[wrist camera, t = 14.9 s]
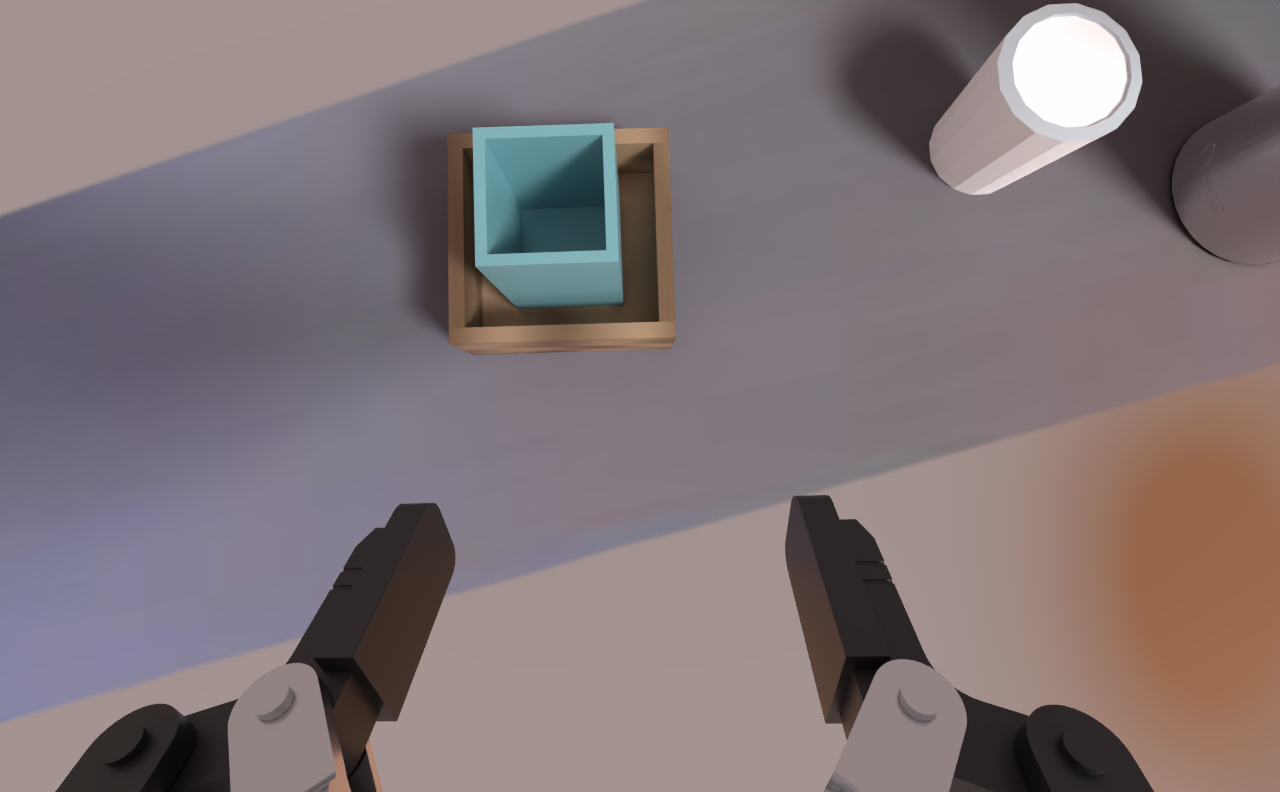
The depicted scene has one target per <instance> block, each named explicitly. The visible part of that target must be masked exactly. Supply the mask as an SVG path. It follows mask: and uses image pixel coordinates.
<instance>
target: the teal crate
mask: <svg viewBox="0 0 1280 792" xmlns="http://www.w3.org/2000/svg"><path fill="white" fill-rule="evenodd" d="M473 174H474V225H475V267H476V268H477V269H478V270H479V271H480V272H481V273H482V274H483V275H484V276H485V277H486V278H487V279H488V280H489V281H490V282H491V283H492V284H493V285H494V286H495V287H496V288H498V289H499V290H500V291H501V292H502V293H503V294H504V295H505V296H506V297H507V298H508V299H509V300H510V301H511V302H512V303H513V304H514V305H515V306H516V307H517V308H518V309H547V308H574V307H602V306H624V301H623V273H622V246H621V218H620V197H619V185H618V172H617V159H616V146H615V133H614V123H598V124H569V125H539V126H509V127H479V128H473Z"/></svg>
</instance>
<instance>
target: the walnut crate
mask: <svg viewBox="0 0 1280 792" xmlns="http://www.w3.org/2000/svg"><path fill="white" fill-rule="evenodd" d="M614 133H615V146H616V159H617V172H618V185H619V197H620V218H621V246H622V273H623V301H624V306H602V307H574V308H547V309H518V308H517V307H516V306H515V305H514V304H513V303H512V302H511V301H510V300H509V299H508V298H507V297H506V296H505V295H504V294H503V293H502V292H501V291H500V290H499V289H498V288H496V287H495V286H494V285H493V284H492V283H491V282H490V281H489V280H488V279H487V278H486V277H485V276H484V275H483V274H482V273H481V272H480V271H479V270H478V269H477V268H476V267H475V225H474V174H473V133H450V134H447V191H448V296H449V344H451V345H453V346H455V347H458V348H460V349H462V350H464V351H467V352H469V353H471V354H473V355H476V354H510V353H543V352H576V351H609V350H643V349H671V346H672V344H673V342H674V339H675V337H676V334H675V306H674V278H673V250H672V221H671V193H670V165H669V137H668V128H635V129H614Z"/></svg>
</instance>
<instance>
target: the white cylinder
mask: <svg viewBox="0 0 1280 792" xmlns="http://www.w3.org/2000/svg"><path fill="white" fill-rule="evenodd" d="M1141 86H1142V73H1141V65H1140V56H1139V53H1138V51H1137V50H1136V48H1135V46H1134V44H1133V43H1132V41H1131V39H1130V37H1129V35H1128V34H1127V32H1126V30H1125V29H1124V28H1122V27H1121V26H1120V25H1119V24H1117V23H1116V22H1115V21H1114V20H1113V19H1111V18H1110V17H1109V16H1108V15H1107V14H1105V13H1104V12H1102V11H1099V10H1096V9H1093V8H1090V7H1087V6H1084V5H1081V4H1078V3H1068V4H1048V5H1046V6H1044V7H1042V8H1040V9H1038V10H1036V11H1033V12H1031V13H1029V14H1027V15H1025V16H1023V17H1022V18H1021V20H1020V21H1019V22H1018V23H1017V24H1016V25H1015V26H1014V27H1013V29H1012V30H1011V31H1010V32H1009V33H1008V34H1007V35H1006V36H1005V38H1004V39H1003V40H1002V42H1001V43H1000V44H999V45H998V47H997V48H996V49H995V50H994V52H993V53H992V54H991V55H990V57H989V58H988V59H987V61H986V62H985V63H984V64H983V66H982V67H981V68H980V69H979V71H978V72H977V73H976V74H975V76H974V77H973V78H972V80H971V81H970V82H969V83H968V85H967V86H966V87H965V88H964V90H963V91H962V92H961V93H960V95H959V96H958V97H957V99H956V100H955V101H954V102H953V104H952V105H951V106H950V107H949V109H948V110H947V111H946V112H945V114H944V115H943V116H942V117H941V119H940V120H939V121H938V123H937V124H936V125H935V126H934V129H933V132H932V135H931V138H930V141H929V149H930V160H931V163H932V165H933V166H934V168H935V170H936V172H937V174H938V176H939V177H940V178H941V179H942V180H943V181H944V182H946V183H947V184H948V185H949V186H950V187H951V188H953V189H955V190H958V191H961V192H964V193H967V194H970V195H977V194H990V193H992V192H994V191H996V190H998V189H1000V188H1002V187H1004V186H1006V185H1008V184H1010V183H1012V182H1014V181H1016V180H1018V179H1020V178H1022V177H1024V176H1026V175H1028V174H1030V173H1032V172H1034V171H1035V170H1037V169H1039V168H1041V167H1043V166H1045V165H1047V164H1049V163H1051V162H1053V161H1055V160H1057V159H1059V158H1061V157H1063V156H1065V155H1067V154H1069V153H1071V152H1072V151H1074V150H1076V149H1078V148H1080V147H1082V146H1084V145H1086V144H1088V143H1090V142H1092V141H1094V140H1096V139H1098V138H1100V137H1102V136H1104V135H1106V134H1107V133H1109V132H1111V131H1113V130H1115V129H1117V128H1118V127H1119V126H1120V124H1121V123H1122V122H1123V121H1124V120H1125V119H1126V118H1127V116H1128V115H1129V114H1130V113H1131V112H1132V111H1133V109H1134V108H1135V105H1136V102H1137V99H1138V95H1139V92H1140V89H1141Z"/></svg>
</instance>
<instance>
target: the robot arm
mask: <svg viewBox="0 0 1280 792" xmlns="http://www.w3.org/2000/svg"><path fill="white" fill-rule="evenodd" d="M1172 193H1173V198H1174V203H1175V207H1176V210H1177V212H1178V214H1179V217H1180V219H1181V221H1182V223H1183V224H1184V226H1185V227H1186V229H1187V230H1188V232H1189V233H1190V234H1191V236H1192V237H1193V238H1194V239H1195V240H1196V241H1197V242H1199V243H1200V244H1201V245H1202V246H1203V247H1204V248H1206V249H1207V250H1209V251H1210V252H1212V253H1213V254H1215V255H1217V256H1219V257H1221V258H1224V259H1226V260H1229V261H1232V262H1236V263H1242V264H1247V265H1256V264H1268V263H1272V262H1276V261H1280V85H1279V86H1277V87H1275V88H1273V89H1271V90H1269V91H1268V92H1266V93H1264V94H1262V95H1260V96H1258V97H1256V98H1254V99H1253V100H1251V101H1249V102H1247V103H1245V104H1243V105H1241V106H1239V107H1238V108H1236V109H1234V110H1232V111H1230V112H1228V113H1226V114H1224V115H1223V116H1221V117H1219V118H1217V119H1215V120H1213V121H1211V122H1209V123H1208V124H1206V125H1204V126H1203V127H1201V128H1200V129H1199V130H1198V131H1196V132H1195V133H1194V134H1192V136H1191V137H1190V138H1189V139H1188V141H1187V142H1186V143H1185V144H1184V145H1183V147H1182V149H1181V151H1180V153H1179V155H1178V157H1177V159H1176V162H1175V166H1174V170H1173V175H1172ZM785 544H786V545H785V553H786V562H787V569H788V573H789V577H790V581H791V585H792V589H793V593H794V597H795V601H796V605H797V610H798V613H799V617H800V622H801V625H802V630H803V633H804V638H805V642H806V646H807V650H808V654H809V658H810V662H811V666H812V670H813V674H814V678H815V682H816V686H817V691H818V694H819V698H820V702H821V707H822V711H823V715H824V719H825V723H842V724H843V727H844V731H845V735H846V739H847V742H846V744H845V747H844V749H843V751H842V753H841V756H840V758H839V760H838V763H837V765H836V768H835V770H834V772H833V774H832V776H831V779H830V781H829V783H828V785H827V786H826V789H825V791H824V792H1154V791H1153V789H1152V788H1151V786H1150V785H1149V783H1148V781H1147V779H1146V778H1145V776H1144V774H1143V773H1142V771H1141V769H1140V768H1139V766H1138V764H1137V763H1136V761H1135V760H1134V758H1133V756H1132V755H1131V753H1130V752H1129V751H1128V749H1127V748H1126V746H1125V745H1124V744H1123V743H1122V742H1121V741H1120V739H1119V738H1118V737H1117V736H1115V735H1114V734H1113V733H1112V732H1111V731H1110V730H1109V729H1108V728H1107V727H1105V726H1104V725H1103V724H1101V723H1100V722H1098V721H1097V720H1095V719H1094V718H1092V717H1091V716H1089V715H1087V714H1085V713H1083V712H1081V711H1078V710H1076V709H1074V708H1070V707H1066V706H1062V705H1046V706H1042V707H1039V708H1037V709H1036V710H1035V711H1033V713H1031V715H1030V716H1027V715H1024V714H1021V713H1018V712H1015V711H1011V710H1008V709H1005V708H1002V707H998V706H995V705H992V704H989V703H985V702H982V701H980V700H977V699H974V698H972V697H970V696H968V695H966V694H964V693H962V692H960V691H959V690H957V689H956V688H954V687H953V686H952V684H951V683H950V682H949V681H948V680H947V679H946V678H945V677H944V676H942V675H941V674H940V673H938V672H937V671H936V670H935V669H934V668H933V667H932V666H931V664H930V662H929V661H928V659H927V657H926V655H925V654H924V651H923V649H922V647H921V645H920V642H919V640H918V638H917V635H916V633H915V631H914V628H913V626H912V624H911V622H910V619H909V617H908V615H907V613H906V610H905V608H904V605H903V603H902V601H901V599H900V596H899V594H898V592H897V589H896V587H895V585H894V584H893V583H892V578H891V576H890V573H889V571H888V569H887V566H886V565H884V559H883V557H882V555H881V553H880V550H879V548H878V546H877V543H876V541H875V539H874V538H873V536H872V535H871V534H870V533H869V532H868V531H867V530H866V529H865V528H864V527H863V526H862V525H861V524H860V523H859V522H858V521H857V520H856V519H853V520H852V519H849V520H839V517H838V515H837V512H836V509H835V507H834V504H833V502H832V500H831V498H830V496H828V495H815V496H793V498H792V501H791V508H790V515H789V521H788V528H787V535H786V543H785ZM454 566H455V548H454V545H453V542H452V540H451V537H450V534H449V532H448V529H447V527H446V524H445V522H444V519H443V517H442V514H441V512H440V509H439V507H438V506H437V505H436V504H435V503H418V504H400V505H399V506H398V507H397V508H396V509H395V510H394V512H393V514H392V516H391V518H390V519H389V521H388V523H387V525H386V527H385V528H375V529H374V530H373V531H372V532H371V533H370V534H369V535H368V536H367V537H366V538H365V539H364V540H362V541H361V542H360V543H359V544H358V545H357V546H356V547H355V549H354V551H353V552H352V554H351V556H350V558H349V559H348V561H347V563H346V564H345V566H344V571H343V572H341V573H340V575H339V576H338V578H337V580H336V581H335V583H334V585H333V590H330V592H329V593H328V595H327V597H326V598H325V600H324V602H323V603H322V605H321V607H320V609H319V610H318V612H317V614H316V615H315V617H314V619H313V620H312V622H311V624H310V626H309V627H308V629H307V631H306V632H305V634H304V636H303V637H302V639H301V641H300V642H299V644H298V646H297V648H296V649H295V651H294V653H293V654H292V656H291V658H290V659H289V661H288V662H287V663H286V664H285V665H283V666H280V667H277V668H275V669H273V670H271V671H269V672H267V673H266V674H264V675H263V676H261V677H260V678H259V679H257V680H256V681H255V682H254V683H253V684H251V686H249V687H248V688H247V690H246V691H245V692H244V693H243V694H242V695H241V696H240V698H239V699H237V700H234V701H231V702H228V703H225V704H221V705H218V706H215V707H212V708H209V709H206V710H202V711H199V712H196V713H193V714H190V715H187V716H183V715H182V714H181V713H179V712H178V711H177V710H176V709H175V708H173V707H172V706H170V705H167V704H154V705H149V706H146V707H143V708H140V709H138V710H136V711H133V712H131V713H130V714H128V715H126V716H124V717H123V718H121V719H120V720H118V721H117V722H115V723H114V724H113V725H111V726H110V727H109V728H108V729H106V731H104V732H103V733H102V734H101V735H100V736H99V737H98V738H97V739H96V740H95V741H94V742H93V743H92V744H91V746H90V747H89V748H88V749H87V750H86V752H85V753H84V754H83V756H82V757H81V758H80V760H79V761H78V762H77V764H76V765H75V766H74V768H73V769H72V770H71V772H70V773H69V774H68V776H67V777H66V778H65V780H64V781H63V783H62V784H61V785H60V787H59V788H58V789H57V790H56V792H383V789H382V785H381V781H380V777H379V773H378V769H377V765H376V761H375V757H374V754H373V750H372V746H371V743H370V741H369V737H370V735H371V732H372V730H373V727H374V725H375V722H376V721H397V719H398V717H399V714H400V711H401V709H402V706H403V704H404V701H405V698H406V696H407V693H408V690H409V688H410V685H411V683H412V680H413V677H414V675H415V672H416V669H417V667H418V664H419V662H420V659H421V656H422V654H423V651H424V648H425V646H426V643H427V640H428V638H429V635H430V632H431V630H432V627H433V624H434V622H435V619H436V616H437V614H438V611H439V609H440V606H441V603H442V601H443V598H444V596H445V593H446V590H447V588H448V585H449V582H450V580H451V577H452V574H453V571H454Z"/></svg>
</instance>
